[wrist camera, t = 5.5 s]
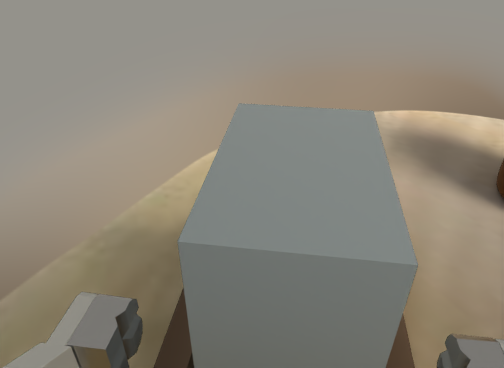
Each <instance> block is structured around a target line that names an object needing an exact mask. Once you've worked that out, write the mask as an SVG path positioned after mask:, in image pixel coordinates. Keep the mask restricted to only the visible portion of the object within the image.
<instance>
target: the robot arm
mask: <svg viewBox="0 0 504 368" xmlns="http://www.w3.org/2000/svg"><path fill="white" fill-rule="evenodd" d="M138 308H139V307H138V303H137V300H136V299H131V298H124V297H117V296H110V295H103V294H95V293H87V292H81V293H80V294H79V295H78V296H76V298H75V299H74V301H73V302H72V304H71V305H70V307H69V308H68V310H67V311H66V313H65V315H64V316H63V318H62V319H61V321H60V322H59V324H58V325H57V327H56V328H55V330H54V331H53V333H52V334H51V336H50V337H49V339H48V341H47V342H46V343H39V344H38V345H36V346H35V347H33V348H32V349H30V350H28V351H27V352H25V353H24V354H22V355H21V356H19V357H18V358H16V359H15V360H13V361H12V362H10V363H9V364H7V365H6V366H4V367H3V368H129V364H128V359H129V358H130V357H132V356H133V355H134V354H135V353H136V352H137V350H138V347H139V345H140V341H141V337H142V325H143V324H142V319H141V318H140V317H139V316H138V315H137V314H136V312H137V310H138ZM445 344H446V348H447V350H446V351H444V352H442V353H441V354H440V356H439V359H438V361H437V368H504V340H501V339H493V338H487V337H477V336H467V335H457V334H451V335H449V336H448V337H447V339H446V342H445Z"/></svg>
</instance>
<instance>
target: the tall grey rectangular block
mask: <svg viewBox="0 0 504 368" xmlns="http://www.w3.org/2000/svg"><path fill="white" fill-rule="evenodd" d="M178 249H179V257H180V264H181V272H182V279H183V287H184V294H185V302H186V309H187V317H188V324H189V332H190V339H191V347H192V355H193V362H194V368H386V365H387V361H388V358H389V355H390V352H391V349H392V346H393V343H394V339H395V336H396V333H397V330H398V327H399V324H400V321H401V317H402V314H403V311H404V308H405V305H406V302H407V299H408V295H409V292H410V289H411V286H412V283H413V280H414V277H415V273H416V270H417V267H418V263H417V259H416V256H415V253H414V249H413V246H412V242H411V239H410V235H409V232H408V229H407V225H406V222H405V218H404V215H403V211H402V208H401V204H400V201H399V198H398V194H397V191H396V187H395V184H394V180H393V177H392V173H391V170H390V167H389V163H388V160H387V156H386V153H385V149H384V146H383V143H382V139H381V136H380V132H379V129H378V125H377V122H376V118H375V115H374V112H373V111H364V110H347V109H327V108H311V107H292V106H275V105H257V104H238V107H237V109H236V111H235V113H234V116H233V118H232V120H231V122H230V125H229V127H228V129H227V131H226V134H225V136H224V138H223V140H222V143H221V145H220V147H219V149H218V152H217V154H216V156H215V158H214V161H213V163H212V165H211V167H210V170H209V172H208V174H207V176H206V179H205V181H204V183H203V185H202V188H201V190H200V192H199V194H198V197H197V199H196V201H195V203H194V206H193V208H192V210H191V212H190V215H189V217H188V219H187V221H186V224H185V226H184V228H183V230H182V233H181V235H180V237H179V239H178Z"/></svg>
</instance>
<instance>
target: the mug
mask: <svg viewBox="0 0 504 368" xmlns="http://www.w3.org/2000/svg"><path fill="white" fill-rule="evenodd" d="M497 187H498V190H499V192H500V194H501V196H502V197H503V198H504V160H503V162H502V165H501V167H500V170H499V173H498V176H497Z"/></svg>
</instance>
